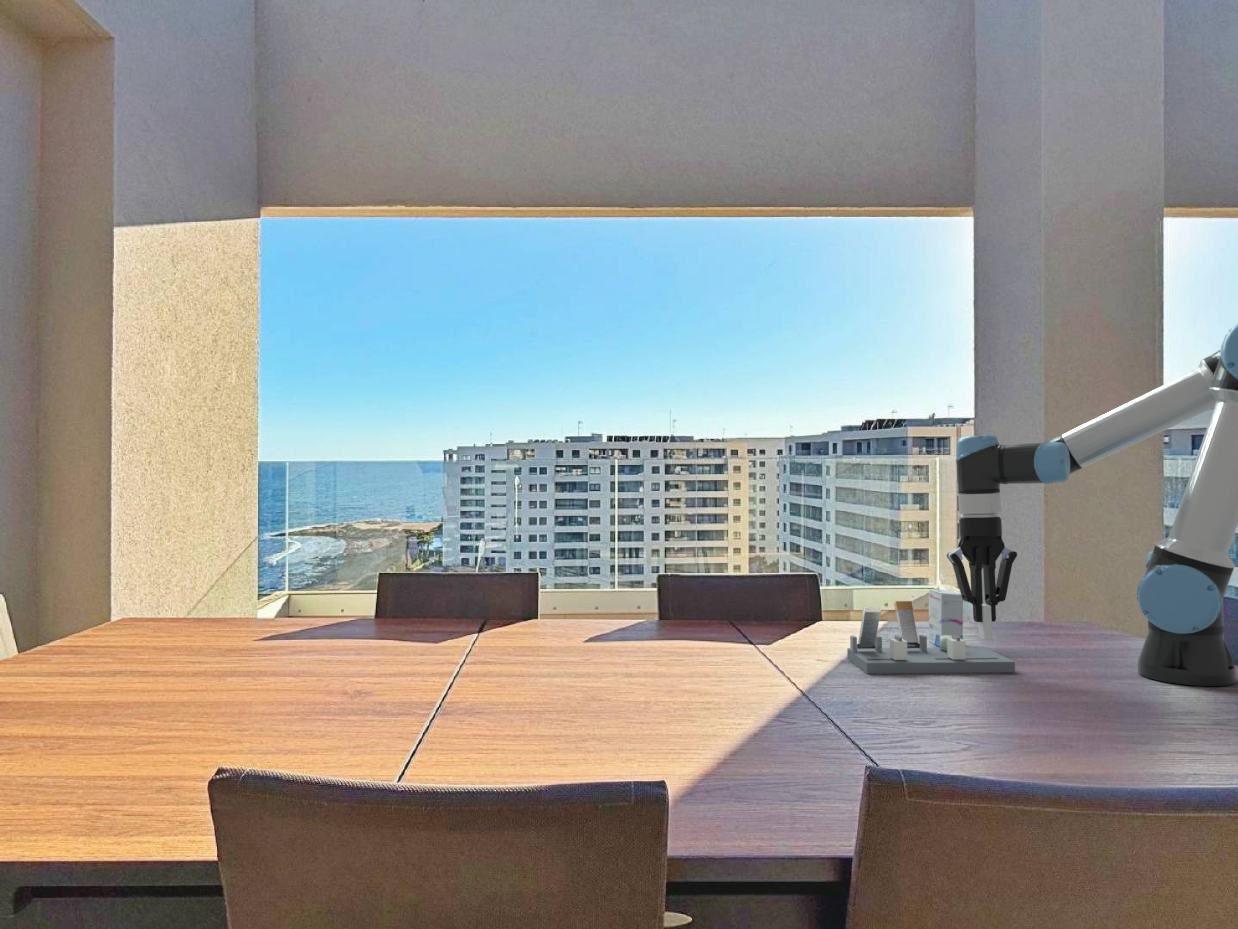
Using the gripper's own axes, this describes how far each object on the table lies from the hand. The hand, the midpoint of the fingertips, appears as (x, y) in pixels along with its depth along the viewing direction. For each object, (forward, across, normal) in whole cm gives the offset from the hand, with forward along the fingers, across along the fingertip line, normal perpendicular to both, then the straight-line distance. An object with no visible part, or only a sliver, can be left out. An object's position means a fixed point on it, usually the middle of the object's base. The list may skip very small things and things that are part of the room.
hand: (985, 638), depth 167 cm
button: (+4, +4, -8) cm, 10 cm away
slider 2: (+4, +6, 0) cm, 7 cm away
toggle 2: (+3, +12, -8) cm, 15 cm away
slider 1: (+3, +17, 0) cm, 17 cm away
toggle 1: (+2, +21, -8) cm, 22 cm away
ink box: (+6, -1, -25) cm, 25 cm away
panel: (+6, +10, -5) cm, 12 cm away
